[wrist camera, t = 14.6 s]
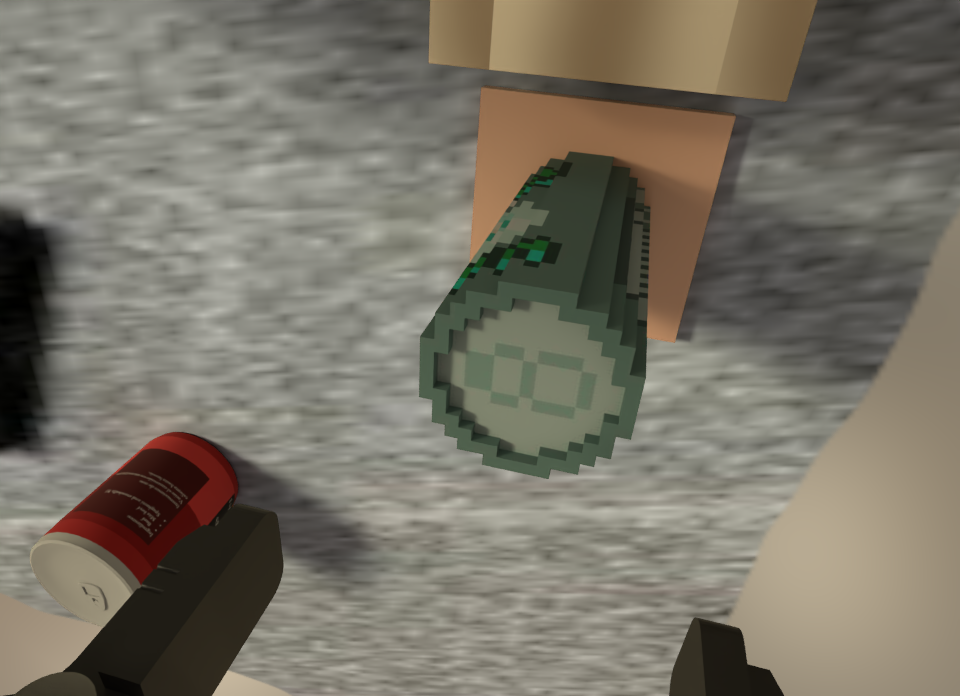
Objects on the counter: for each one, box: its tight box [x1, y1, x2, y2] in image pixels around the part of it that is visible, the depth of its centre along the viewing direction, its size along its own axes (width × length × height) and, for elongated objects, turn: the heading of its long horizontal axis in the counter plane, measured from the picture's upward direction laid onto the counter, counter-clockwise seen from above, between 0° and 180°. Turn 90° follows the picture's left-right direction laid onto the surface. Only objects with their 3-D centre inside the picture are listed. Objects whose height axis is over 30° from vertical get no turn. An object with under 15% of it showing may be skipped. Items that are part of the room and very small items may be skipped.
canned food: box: [30, 432, 238, 627], centre depth 42 cm, size 8×8×11 cm
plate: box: [470, 85, 736, 343], centre depth 30 cm, size 11×11×1 cm
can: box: [419, 151, 651, 479], centre depth 23 cm, size 6×6×15 cm
